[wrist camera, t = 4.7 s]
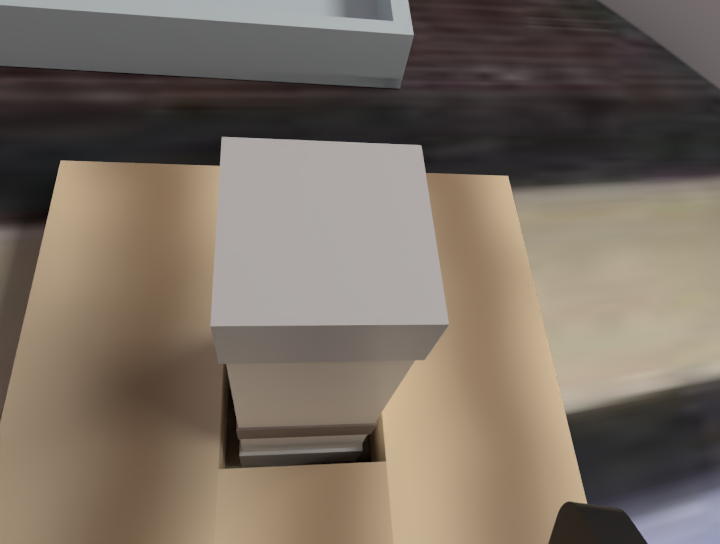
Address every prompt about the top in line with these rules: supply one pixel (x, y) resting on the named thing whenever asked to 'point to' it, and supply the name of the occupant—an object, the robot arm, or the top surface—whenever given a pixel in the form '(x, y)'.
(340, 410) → the block
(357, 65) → the parts tray
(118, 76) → the top surface
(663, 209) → the top surface
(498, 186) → the wooden board with hole
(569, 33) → the top surface
